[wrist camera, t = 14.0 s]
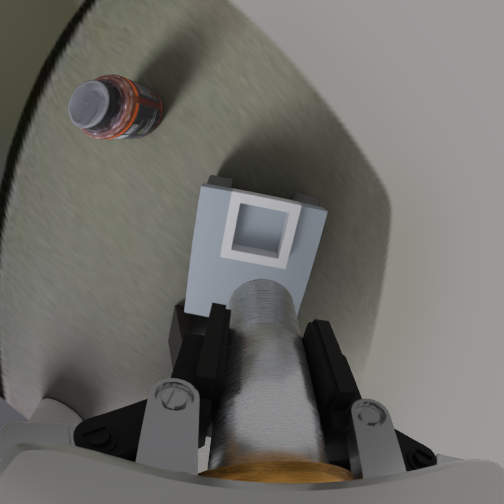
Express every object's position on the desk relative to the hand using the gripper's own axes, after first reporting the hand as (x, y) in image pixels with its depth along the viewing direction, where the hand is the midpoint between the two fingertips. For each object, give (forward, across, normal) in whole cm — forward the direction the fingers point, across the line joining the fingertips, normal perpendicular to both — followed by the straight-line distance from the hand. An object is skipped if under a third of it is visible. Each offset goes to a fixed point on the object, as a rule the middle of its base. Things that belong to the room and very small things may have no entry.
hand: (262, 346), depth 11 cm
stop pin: (+3, 0, 0) cm, 3 cm away
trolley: (+23, 0, +4) cm, 23 cm away
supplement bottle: (+23, +15, -9) cm, 29 cm away
